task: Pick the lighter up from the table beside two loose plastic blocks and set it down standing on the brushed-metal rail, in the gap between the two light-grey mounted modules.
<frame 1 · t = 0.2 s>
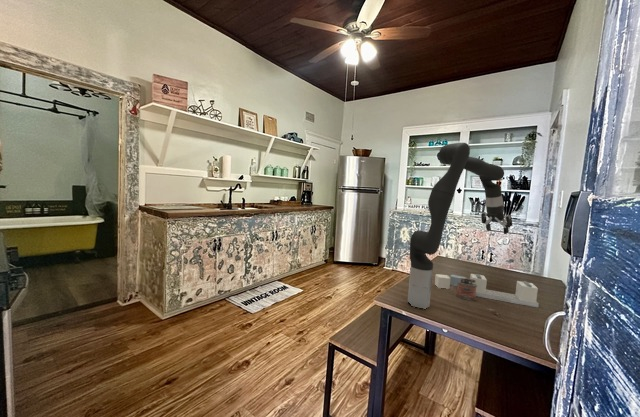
hand: (497, 232, 136), 31 cm above the table, tool tilted 20°, fingers open, 8 cm apart
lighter: (465, 298, 123), on the table
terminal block: (457, 285, 139), on the table
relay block: (441, 287, 136), on the table
rail: (499, 298, 125), on the table
mounted modules: (501, 286, 124), on the rail, point 6 cm above the table
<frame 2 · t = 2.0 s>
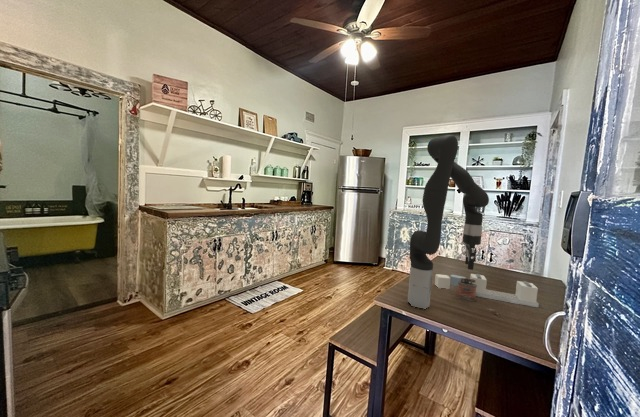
hand: (468, 266, 121), 16 cm above the table, tool pointing down, fingers open, 8 cm apart
nothing on the table moved.
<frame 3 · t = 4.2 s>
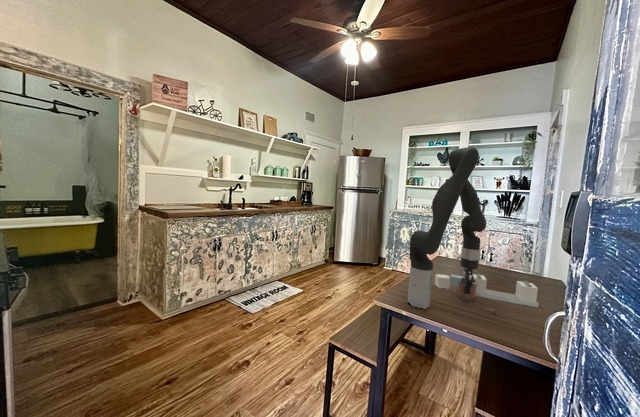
hand: (466, 291, 122), 3 cm above the table, tool pointing down, fingers closed on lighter, 3 cm apart
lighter: (465, 298, 123), on the table, touching gripper
everything else where it was.
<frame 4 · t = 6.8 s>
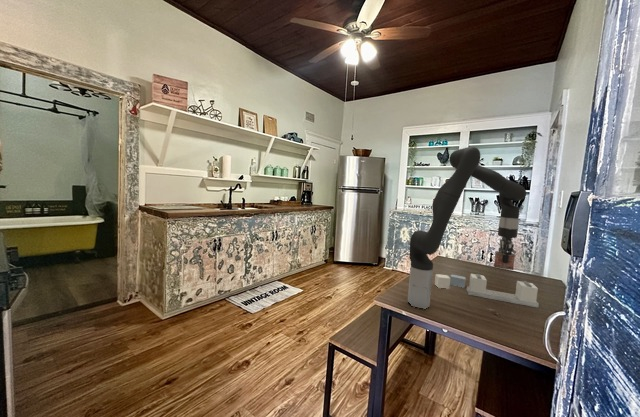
hand: (504, 261, 123), 19 cm above the table, tool pointing down, fingers closed on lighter, 3 cm apart
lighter: (503, 268, 123), point 15 cm above the table, touching gripper
everything else where it was.
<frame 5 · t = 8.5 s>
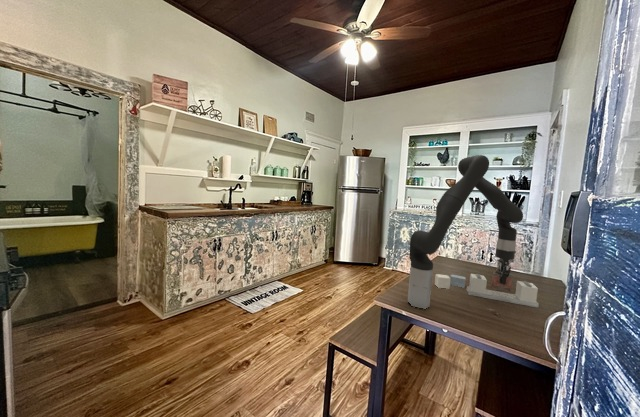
hand: (501, 282, 124), 8 cm above the table, tool pointing down, fingers closed on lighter, 3 cm apart
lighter: (500, 289, 124), point 5 cm above the table, touching gripper
everything else where it was.
when the fingers open (6 cm above the table, at t = 9.8 s): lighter stays where it is, resting on rail.
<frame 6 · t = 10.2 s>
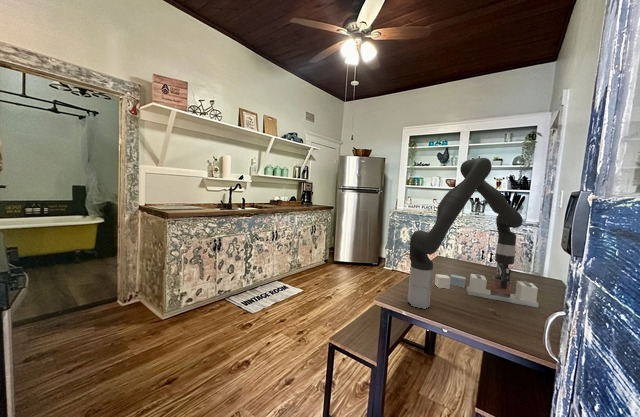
hand: (501, 285, 124), 6 cm above the table, tool pointing down, fingers open, 7 cm apart
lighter: (500, 294, 125), point 2 cm above the table, touching rail
everything else where it was.
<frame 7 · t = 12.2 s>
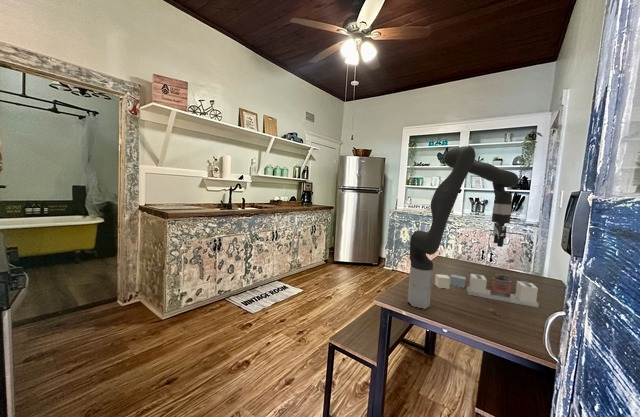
hand: (497, 244, 128), 26 cm above the table, tool pointing down, fingers open, 8 cm apart
nothing on the table moved.
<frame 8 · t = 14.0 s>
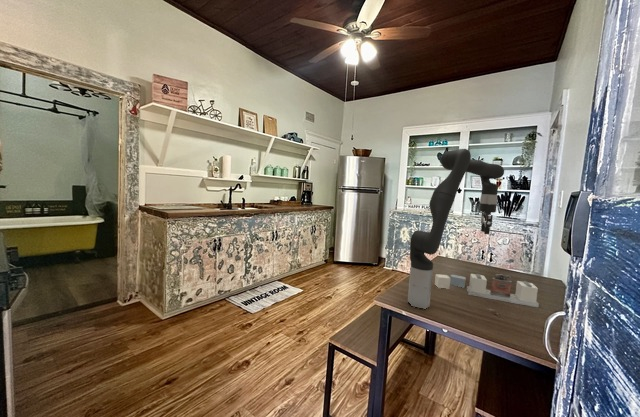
hand: (484, 232, 136), 30 cm above the table, tool pointing down, fingers open, 8 cm apart
nothing on the table moved.
at the end: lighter inside the target area on the rail (0.1 cm from its centre), point 1.8 cm above the rail's base; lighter tilted 0°; the gripper is holding nothing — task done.
